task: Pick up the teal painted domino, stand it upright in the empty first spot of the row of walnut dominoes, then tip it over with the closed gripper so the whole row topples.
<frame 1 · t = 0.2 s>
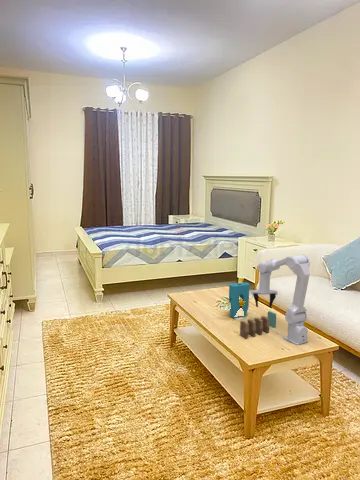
hand: (263, 306, 209), 10 cm above the table, tool pointing down, fingers open, 7 cm apart
walnut domino 2: (264, 331, 199), on the table
teal domino: (271, 326, 206), on the table
walnut domino 4: (251, 335, 194), on the table
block: (238, 316, 221), on the table
walnut domino 5: (243, 336, 192), on the table
walnut domino 3: (258, 333, 197), on the table
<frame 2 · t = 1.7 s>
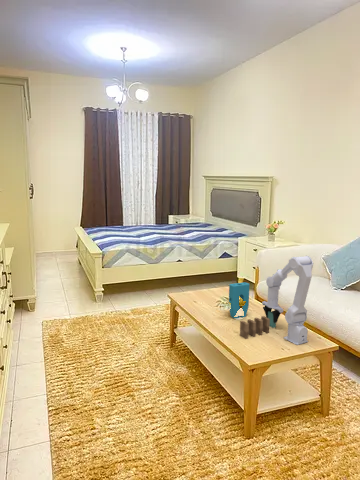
hand: (271, 320, 206), 3 cm above the table, tool pointing down, fingers closed on teal domino, 5 cm apart
teal domino: (271, 326, 206), on the table, touching gripper
everything else where it was.
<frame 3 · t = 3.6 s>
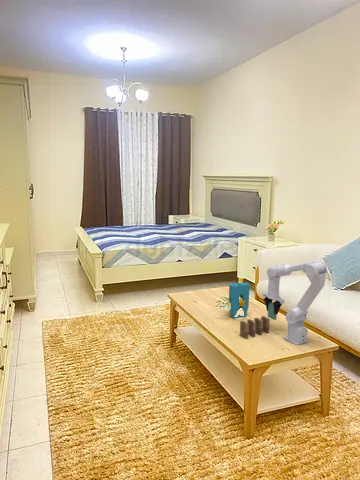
hand: (272, 312, 200), 10 cm above the table, tool pointing down, fingers closed on teal domino, 5 cm apart
teal domino: (272, 318, 200), point 7 cm above the table, touching gripper
everything else where it was.
when the fingers open (4 cm above the table, at t = 5.4 s): teal domino drops 1 cm, on the table.
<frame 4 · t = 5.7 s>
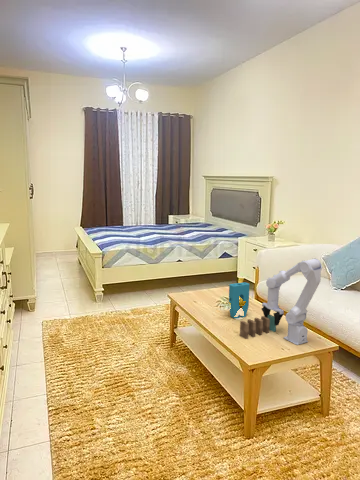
hand: (271, 322, 201), 4 cm above the table, tool pointing down, fingers open, 7 cm apart
teal domino: (271, 330, 201), on the table
everything else where it was.
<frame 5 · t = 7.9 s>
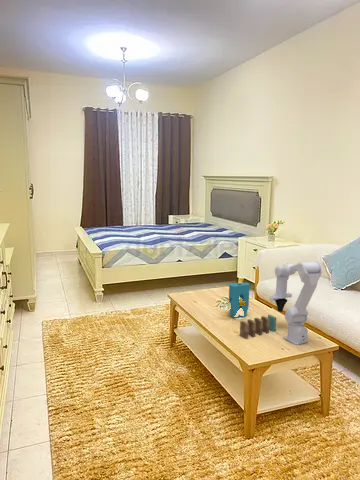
hand: (280, 311, 203), 10 cm above the table, tool pointing down, fingers closed
nothing on the table moved.
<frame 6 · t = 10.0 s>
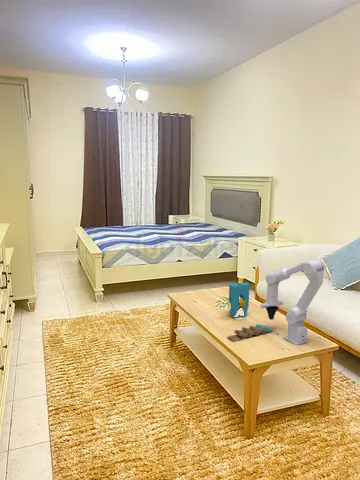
hand: (271, 318, 200), 6 cm above the table, tool pointing down, fingers closed
walnut domino 2: (263, 330, 198), point 1 cm above the table, tilted 70°, touching teal domino
teal domino: (269, 329, 200), point 1 cm above the table, tilted 70°, touching walnut domino 2
walnut domino 4: (249, 334, 193), point 1 cm above the table, tilted 74°, touching walnut domino 3
walnut domino 5: (242, 336, 191), on the table, tilted 90°
walnut domino 3: (255, 332, 196), point 1 cm above the table, tilted 69°, touching walnut domino 4
everything else where it was.
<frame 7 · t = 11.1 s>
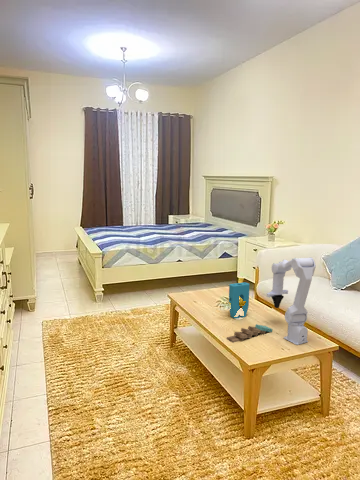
hand: (276, 307, 207), 10 cm above the table, tool pointing down, fingers closed
walnut domino 2: (262, 330, 198), point 1 cm above the table, tilted 71°
teal domino: (269, 329, 200), point 1 cm above the table, tilted 71°
walnut domino 4: (248, 334, 193), point 1 cm above the table, tilted 77°, touching walnut domino 3
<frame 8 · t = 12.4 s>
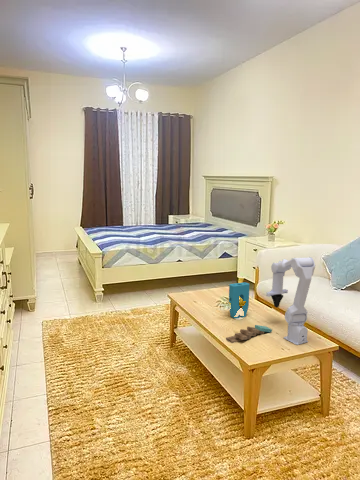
hand: (276, 306, 208), 10 cm above the table, tool pointing down, fingers closed
walnut domino 2: (260, 331, 198), point 1 cm above the table, tilted 71°, touching teal domino, walnut domino 3
teal domino: (268, 329, 200), point 1 cm above the table, tilted 73°, touching walnut domino 2
walnut domino 4: (246, 335, 191), point 1 cm above the table, tilted 76°, touching walnut domino 3
walnut domino 3: (252, 333, 195), point 1 cm above the table, tilted 70°, touching walnut domino 2, walnut domino 4
at the end: walnut domino 5 tilted 90°; teal domino tilted 73°; teal domino inside the target area (0.9 cm from its centre), point 0.7 cm above the table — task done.
